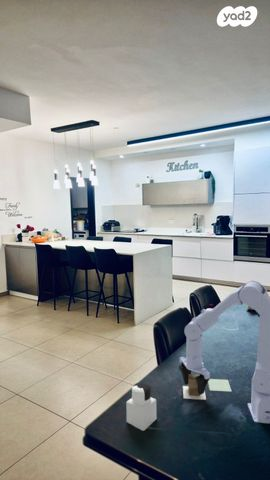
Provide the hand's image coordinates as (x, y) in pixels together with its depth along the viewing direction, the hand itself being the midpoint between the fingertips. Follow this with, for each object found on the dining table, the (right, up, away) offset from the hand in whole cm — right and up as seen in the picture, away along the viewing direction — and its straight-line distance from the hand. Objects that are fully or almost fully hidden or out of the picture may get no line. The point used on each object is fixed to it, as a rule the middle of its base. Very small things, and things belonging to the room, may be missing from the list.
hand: (194, 388), depth 116 cm
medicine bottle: (-20, -4, -14) cm, 25 cm away
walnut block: (0, -2, 0) cm, 2 cm away
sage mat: (+11, -1, +5) cm, 12 cm away
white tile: (0, -2, 0) cm, 2 cm away
